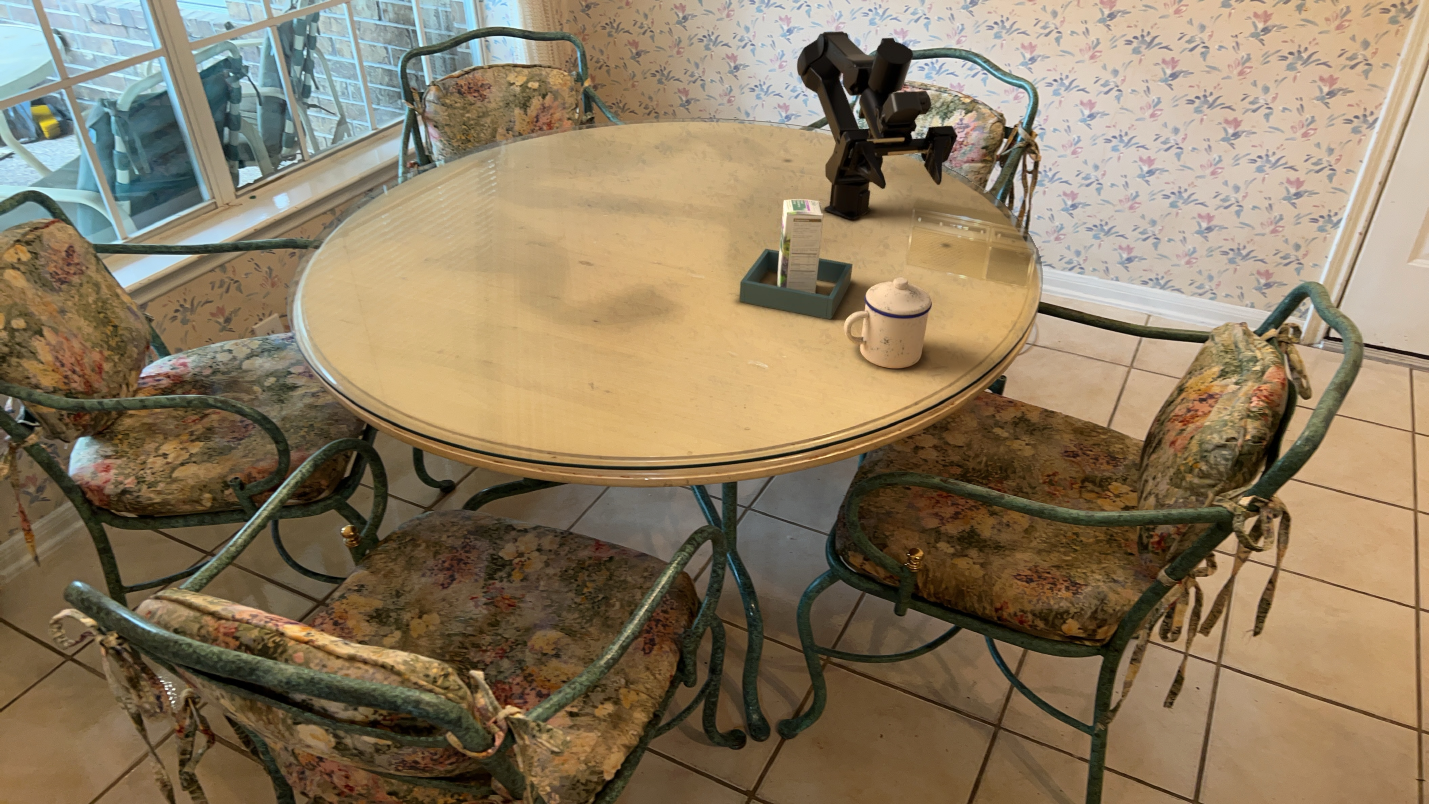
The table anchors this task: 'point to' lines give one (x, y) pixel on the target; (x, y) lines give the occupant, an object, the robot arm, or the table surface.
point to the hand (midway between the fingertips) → (912, 184)
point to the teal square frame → (795, 298)
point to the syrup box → (800, 244)
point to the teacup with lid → (892, 323)
